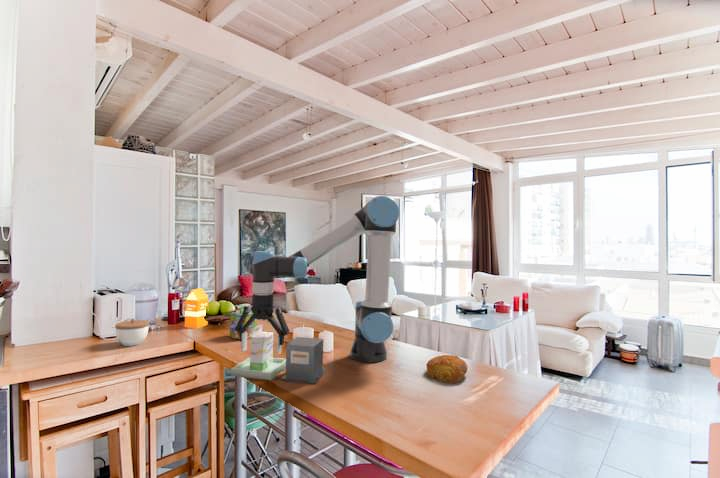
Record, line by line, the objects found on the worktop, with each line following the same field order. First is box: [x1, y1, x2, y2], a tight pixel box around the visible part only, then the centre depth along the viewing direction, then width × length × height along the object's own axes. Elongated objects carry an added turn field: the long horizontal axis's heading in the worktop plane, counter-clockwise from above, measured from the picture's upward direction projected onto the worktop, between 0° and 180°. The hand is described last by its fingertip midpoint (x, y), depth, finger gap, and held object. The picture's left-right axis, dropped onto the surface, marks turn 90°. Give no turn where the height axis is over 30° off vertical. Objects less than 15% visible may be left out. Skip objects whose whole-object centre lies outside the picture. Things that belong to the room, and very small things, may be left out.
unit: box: [281, 336, 327, 385], centre depth 125 cm, size 12×12×12 cm
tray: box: [230, 356, 286, 381], centre depth 130 cm, size 15×15×2 cm
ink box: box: [249, 323, 274, 371], centre depth 130 cm, size 9×5×15 cm, turn 168°
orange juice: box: [184, 287, 209, 329], centre depth 193 cm, size 8×9×20 cm
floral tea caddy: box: [229, 305, 258, 340], centre depth 174 cm, size 9×9×15 cm
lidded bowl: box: [114, 318, 150, 347], centre depth 158 cm, size 13×13×11 cm
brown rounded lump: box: [426, 354, 468, 384], centre depth 130 cm, size 14×16×8 cm
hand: (261, 352), depth 130 cm, fingers open, 13 cm apart
